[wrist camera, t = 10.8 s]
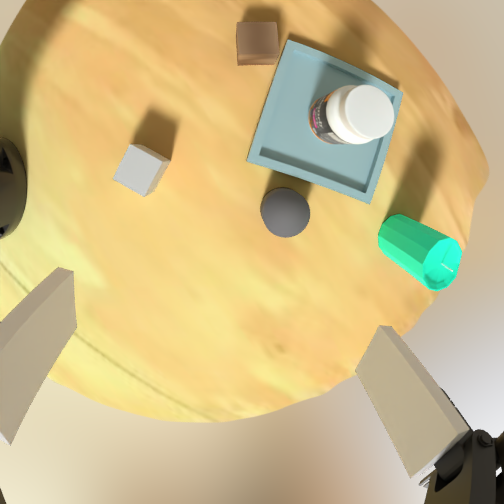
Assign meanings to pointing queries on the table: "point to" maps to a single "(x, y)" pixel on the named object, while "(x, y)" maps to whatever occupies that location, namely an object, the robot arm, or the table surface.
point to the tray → (300, 135)
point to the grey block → (141, 169)
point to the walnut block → (257, 43)
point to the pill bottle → (351, 115)
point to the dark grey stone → (285, 212)
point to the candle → (420, 251)
